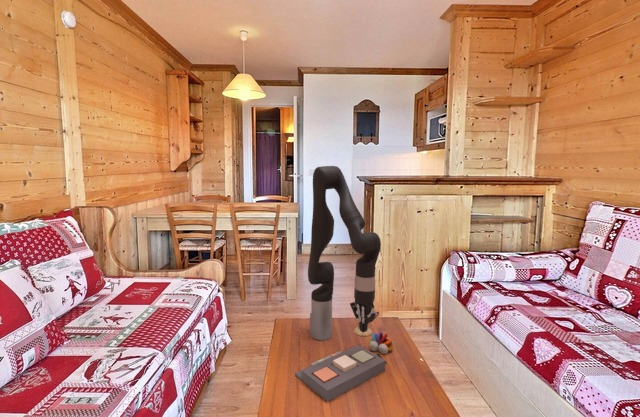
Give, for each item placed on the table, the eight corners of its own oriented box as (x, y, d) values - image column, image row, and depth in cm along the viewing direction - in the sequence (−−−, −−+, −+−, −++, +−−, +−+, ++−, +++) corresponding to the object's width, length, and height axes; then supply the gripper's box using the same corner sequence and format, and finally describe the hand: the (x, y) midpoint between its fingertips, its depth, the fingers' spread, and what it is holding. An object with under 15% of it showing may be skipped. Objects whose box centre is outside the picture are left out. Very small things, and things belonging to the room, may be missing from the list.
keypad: (295, 375, 125) (295, 365, 125) (351, 350, 143) (351, 340, 142) (327, 402, 111) (327, 390, 111) (385, 370, 129) (385, 360, 128)
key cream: (332, 366, 125) (332, 360, 125) (345, 361, 129) (345, 354, 129) (344, 374, 121) (344, 368, 121) (356, 368, 125) (356, 362, 124)
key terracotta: (313, 379, 120) (313, 372, 120) (326, 373, 124) (326, 366, 123) (324, 388, 115) (324, 381, 115) (337, 381, 119) (337, 374, 119)
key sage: (350, 361, 131) (351, 355, 131) (362, 356, 135) (362, 350, 135) (362, 368, 127) (362, 362, 126) (373, 363, 130) (373, 356, 130)
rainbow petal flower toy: (388, 357, 138) (388, 340, 137) (365, 350, 143) (366, 333, 142) (395, 347, 145) (396, 331, 144) (374, 341, 150) (374, 325, 149)
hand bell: (367, 326, 163) (368, 294, 161) (375, 335, 155) (376, 301, 153) (351, 328, 161) (351, 295, 159) (357, 337, 153) (358, 302, 151)
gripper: (344, 283, 130) (343, 327, 132) (371, 294, 120) (369, 341, 122) (359, 279, 134) (357, 321, 137) (385, 289, 124) (383, 335, 127)
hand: (363, 331), depth 130 cm, fingers closed
